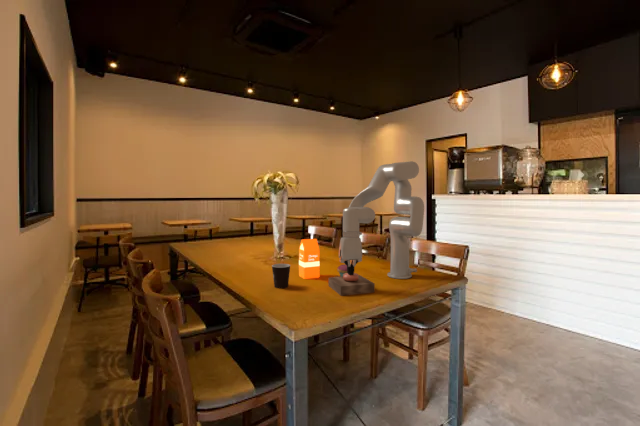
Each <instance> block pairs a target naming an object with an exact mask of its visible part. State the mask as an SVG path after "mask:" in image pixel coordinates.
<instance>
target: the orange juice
mask: <svg viewBox="0 0 640 426" xmlns="http://www.w3.org/2000/svg"><path fill="white" fill-rule="evenodd" d="M320 252H321V251H320V246H319V243H318V239H317V238H304V239H303V238H302V239H301V240H300V244H299V248H298V276H299V277H300V278H302V279H304V280H306V279H307V280H308V279H316V278H320V271H321V270H320V268H321V267H320V266H321V265H320V263H321V262H320V257H321V256H320V254H321V253H320Z"/></svg>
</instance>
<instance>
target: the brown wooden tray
mask: <svg viewBox="0 0 640 426" xmlns="http://www.w3.org/2000/svg"><path fill="white" fill-rule="evenodd" d="M375 285H376V284H375V282H373V281H371V280H369V279H367V278H366V277H364V276H362V275H360V274H358V280H356V281H347V280H344V279H343V276H334V277H333V276H331V277H328V287H329V288H331V289H332V290H333V291H335V292H336V293H337V294H338V295H340V296H350V295H352V296H353V295H359V294H360V295H361V294H371V293H373V294H374V293H375Z"/></svg>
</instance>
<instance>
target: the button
mask: <svg viewBox="0 0 640 426" xmlns="http://www.w3.org/2000/svg"><path fill="white" fill-rule="evenodd" d="M358 275H359V274H358V273H356V272H354V275H349V274H348V273H345V274H343V279H344V280H347V281H356V280H358Z"/></svg>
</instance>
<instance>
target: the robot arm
mask: <svg viewBox="0 0 640 426" xmlns="http://www.w3.org/2000/svg"><path fill="white" fill-rule="evenodd" d="M419 173H420V166H419V165H418V163H417V162H416V161H413V160H412V161H411V160H410V161H400V162H392V163H387V164H381V165H379V166H378V168H377V169H376V171H375V173H374V174H373V176H372V178H371V180H370V182H369V184H368V185H367V186H366V188H364V189H363V190H361V191H360V192H359V193H357V195H356V196H355V197H354V198H353V199H352V200H351V202H350V203H349V206H348V207H345V208H344V209H343V210H342V237H340V240H339V247H338V258H339V262H340V264H341V263H342V264H344V265H347V273H348V274H349V275H354V273H355V267H356V266H357V264H358V263H361V262H363V245H362V240H361V239H362V238H361V237H360V236H362V235H363V232H361V231H360V224H370V223H373V221H374V220H375V218H376V212H375V210H374V209H373V208H371V207H366V205H367V204H368V203H371V202H372V201H375V200H378V199H380V198H382V197H383V196H384V194H385V192H386V190H387V188H388V187H389V185H390V183H391V182H392V183H393V186H394V197H393V210H394V213H395V214H398V215H407V217H406V216H395V217H392V218H391V219H390V220H389V222H388V230H389V234H390V271H389V272H387V274H386V275H387V276H388V277H389V278H391V279H399V280H405V279H411V278H413V277H412V276H413V275H412V273H417V272H418V269H417V268H412V267H410V241H409V238H408V237H419V236H421V233H422V232H423V227H424V217H425V216H424V215H425V203H424V201H423V198H421V197H419V196H415V195H414V196H412V189H413V188H412V185H411V182H410V180H411V179H414V178H416V177H417V176H418V175H419ZM408 216H410V217H408ZM407 236H408V237H407Z"/></svg>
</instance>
